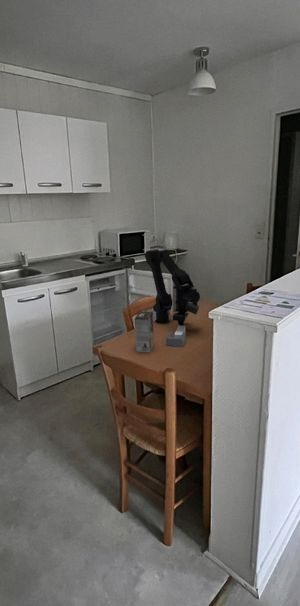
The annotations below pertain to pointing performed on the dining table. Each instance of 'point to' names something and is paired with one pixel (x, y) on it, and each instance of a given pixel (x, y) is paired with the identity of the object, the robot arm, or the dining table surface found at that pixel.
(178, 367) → the dining table surface
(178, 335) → the slat
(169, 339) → the end cap
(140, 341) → the coffee box
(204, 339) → the dining table surface
